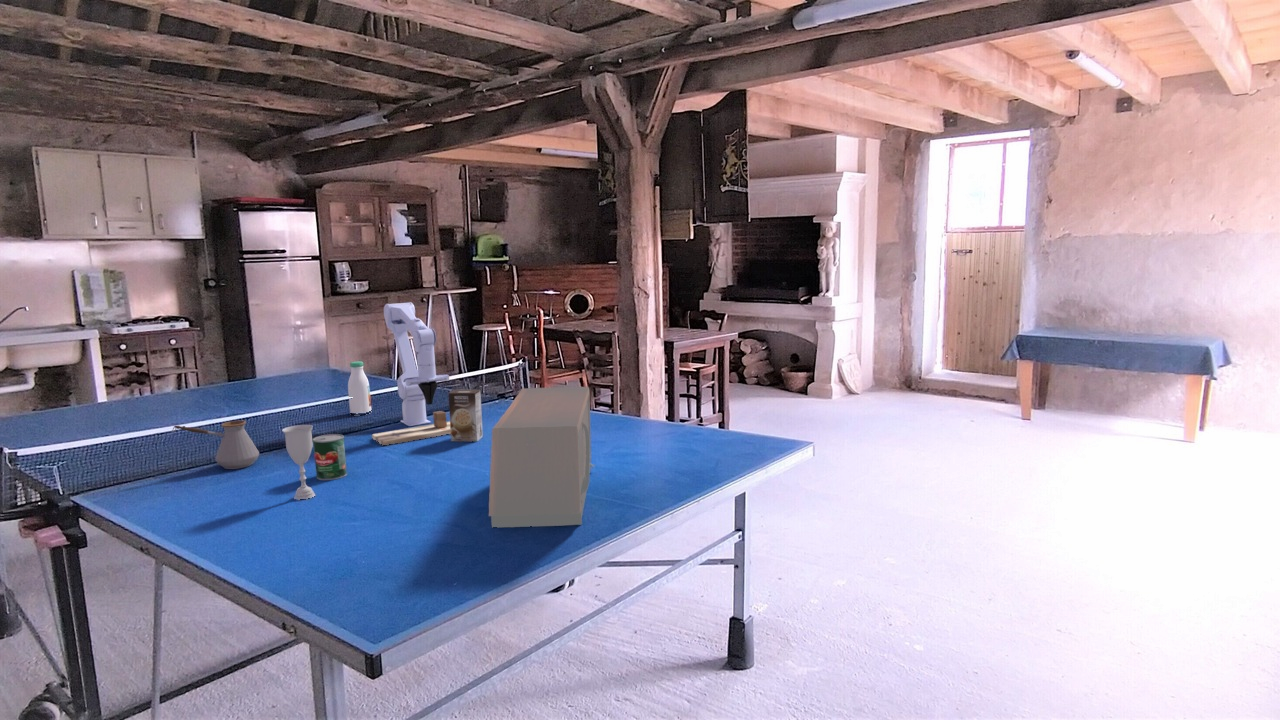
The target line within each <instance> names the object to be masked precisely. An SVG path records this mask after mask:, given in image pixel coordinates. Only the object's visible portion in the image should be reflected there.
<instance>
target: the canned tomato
mask: <svg viewBox="0 0 1280 720" xmlns="http://www.w3.org/2000/svg"><path fill="white" fill-rule="evenodd" d="M344 438H345V437H344V435H343V434H339V433H332V434H331V433H328V434H323V435H319V436H318V435H317V436H315V437H313V438H312V442H313V446H312V447H313V452H314V453H313V455H314V465H315V473H316V479H317V480H319V481H333V480H334V481H335V480H338V479H341V478H344V477H346V476H347V475H348V472H347V469H348V468H347V462H346V461H347V459H346V449H345V448H346V447H345V440H344Z"/></svg>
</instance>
